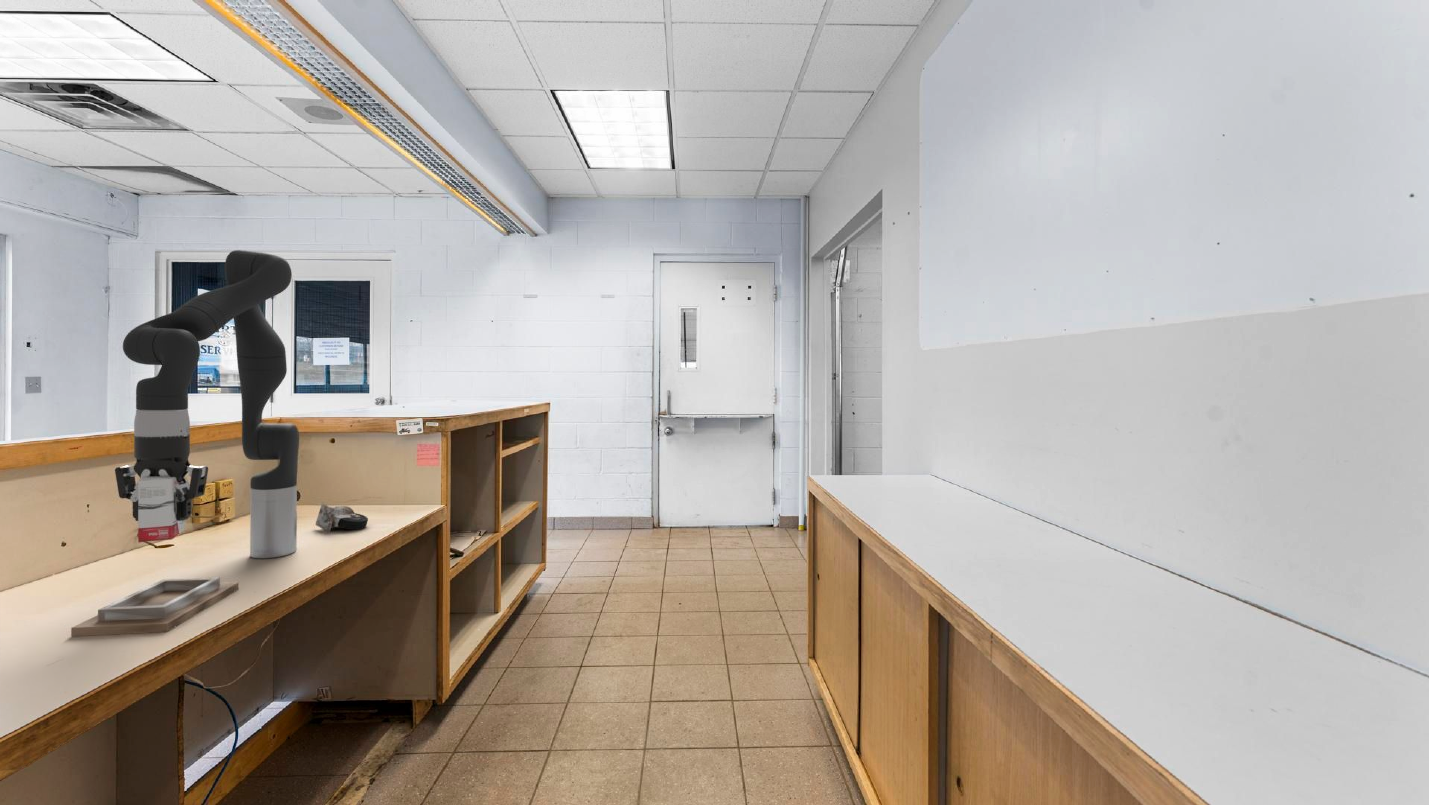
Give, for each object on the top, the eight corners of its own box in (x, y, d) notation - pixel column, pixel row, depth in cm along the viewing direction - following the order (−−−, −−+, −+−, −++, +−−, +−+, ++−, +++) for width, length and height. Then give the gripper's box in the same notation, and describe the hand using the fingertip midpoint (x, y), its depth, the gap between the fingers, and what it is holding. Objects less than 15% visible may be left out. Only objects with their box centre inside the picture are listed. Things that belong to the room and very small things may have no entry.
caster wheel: (369, 535, 168) (337, 538, 159) (345, 522, 172) (313, 524, 163) (376, 514, 168) (344, 516, 159) (352, 501, 172) (320, 503, 163)
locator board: (160, 592, 115) (160, 575, 115) (238, 589, 118) (238, 573, 118) (71, 636, 95) (71, 616, 95) (167, 631, 98) (167, 612, 98)
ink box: (173, 540, 104) (173, 478, 103) (136, 543, 101) (136, 479, 101) (186, 529, 111) (186, 470, 111) (152, 531, 108) (152, 472, 108)
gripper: (99, 434, 100) (100, 525, 101) (192, 435, 103) (191, 524, 104) (134, 430, 108) (134, 515, 108) (219, 431, 110) (219, 515, 111)
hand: (162, 519), depth 106 cm, fingers closed on ink box, 6 cm apart
